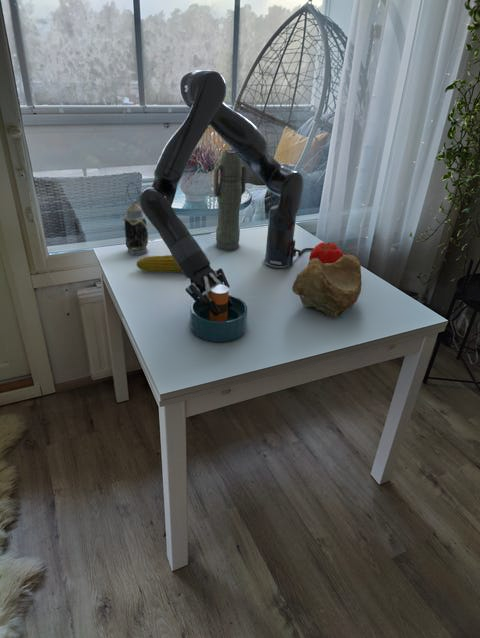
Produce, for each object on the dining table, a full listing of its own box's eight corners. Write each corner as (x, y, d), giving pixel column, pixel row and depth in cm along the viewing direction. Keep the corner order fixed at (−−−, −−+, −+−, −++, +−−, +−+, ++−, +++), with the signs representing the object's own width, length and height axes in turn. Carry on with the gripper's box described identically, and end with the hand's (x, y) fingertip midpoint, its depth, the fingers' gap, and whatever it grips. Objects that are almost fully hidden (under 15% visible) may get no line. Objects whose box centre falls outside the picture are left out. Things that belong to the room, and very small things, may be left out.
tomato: (307, 262, 163) (310, 238, 158) (340, 265, 162) (344, 241, 157) (308, 274, 154) (311, 250, 149) (343, 278, 153) (347, 253, 148)
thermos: (246, 247, 171) (252, 152, 152) (220, 253, 165) (224, 155, 147) (233, 239, 177) (238, 147, 159) (208, 244, 171) (210, 149, 153)
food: (199, 267, 154) (199, 251, 151) (200, 274, 149) (200, 258, 146) (137, 267, 151) (136, 251, 148) (136, 275, 146) (135, 258, 143)
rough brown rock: (316, 332, 124) (329, 287, 116) (282, 301, 135) (291, 258, 126) (374, 315, 136) (390, 272, 127) (338, 288, 146) (350, 247, 138)
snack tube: (224, 315, 124) (226, 283, 118) (229, 324, 120) (231, 292, 114) (207, 317, 122) (208, 285, 117) (211, 326, 118) (212, 294, 113)
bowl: (237, 310, 130) (238, 291, 127) (252, 339, 118) (254, 319, 115) (186, 316, 126) (186, 296, 123) (196, 346, 114) (196, 325, 111)
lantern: (121, 250, 162) (115, 181, 149) (139, 245, 167) (135, 178, 154) (135, 258, 157) (130, 187, 144) (154, 252, 162) (150, 183, 149)
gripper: (179, 258, 109) (216, 316, 110) (214, 242, 120) (248, 294, 121) (163, 271, 115) (200, 326, 116) (198, 254, 125) (231, 305, 126)
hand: (224, 310), depth 118 cm, fingers closed on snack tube, 5 cm apart
